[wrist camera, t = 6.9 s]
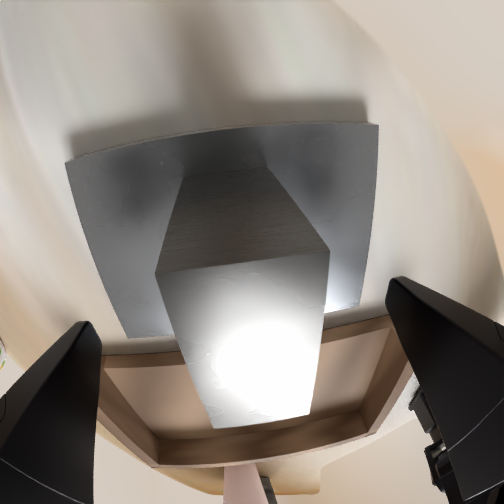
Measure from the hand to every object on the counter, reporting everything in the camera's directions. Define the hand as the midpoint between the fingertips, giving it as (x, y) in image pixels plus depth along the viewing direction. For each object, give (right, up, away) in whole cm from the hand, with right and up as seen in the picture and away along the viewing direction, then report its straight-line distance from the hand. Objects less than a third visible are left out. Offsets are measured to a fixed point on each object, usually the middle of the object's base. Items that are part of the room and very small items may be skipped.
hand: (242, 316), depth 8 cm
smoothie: (-1, -23, +20) cm, 31 cm away
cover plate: (-1, +3, +5) cm, 5 cm away
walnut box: (0, -8, +10) cm, 13 cm away
